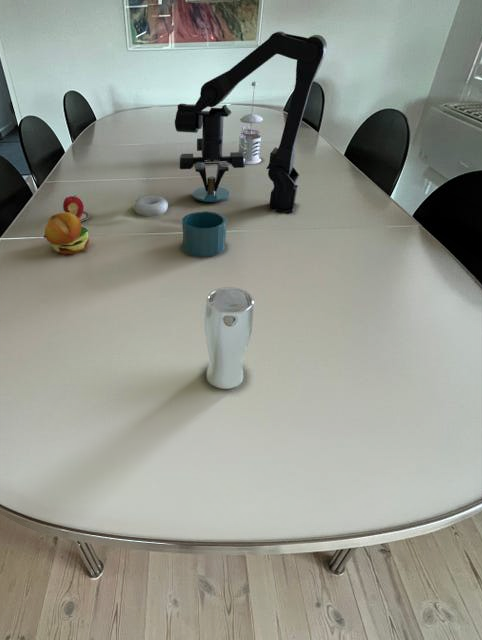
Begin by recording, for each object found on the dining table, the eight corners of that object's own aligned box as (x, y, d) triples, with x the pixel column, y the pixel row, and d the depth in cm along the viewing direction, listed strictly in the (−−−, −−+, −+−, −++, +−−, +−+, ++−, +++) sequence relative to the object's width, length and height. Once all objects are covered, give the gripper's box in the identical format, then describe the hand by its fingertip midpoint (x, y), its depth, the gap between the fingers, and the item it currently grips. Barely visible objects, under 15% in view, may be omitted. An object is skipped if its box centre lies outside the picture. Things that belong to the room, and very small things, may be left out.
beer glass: (200, 363, 69) (202, 287, 59) (241, 360, 70) (249, 284, 60) (206, 393, 64) (209, 315, 54) (250, 389, 64) (260, 311, 54)
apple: (95, 217, 118) (91, 194, 113) (73, 226, 113) (68, 203, 109) (79, 210, 122) (74, 188, 118) (56, 219, 118) (51, 196, 113)
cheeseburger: (99, 239, 106) (89, 206, 98) (81, 267, 101) (69, 234, 93) (65, 234, 109) (52, 201, 101) (46, 261, 103) (31, 229, 95)
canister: (229, 241, 104) (231, 214, 99) (217, 259, 96) (218, 231, 92) (191, 235, 107) (191, 209, 102) (176, 253, 100) (176, 226, 95)
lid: (233, 192, 127) (235, 173, 123) (223, 205, 119) (224, 185, 115) (199, 188, 130) (199, 170, 126) (187, 201, 122) (186, 182, 119)
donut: (130, 218, 117) (164, 219, 115) (128, 206, 115) (163, 207, 113) (139, 205, 124) (171, 205, 122) (138, 193, 122) (170, 194, 120)
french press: (265, 158, 155) (273, 80, 139) (252, 167, 148) (260, 85, 132) (242, 155, 159) (247, 78, 143) (228, 163, 152) (232, 83, 136)
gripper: (243, 125, 119) (239, 181, 129) (179, 127, 119) (180, 182, 130) (247, 135, 110) (242, 193, 121) (179, 137, 111) (180, 195, 121)
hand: (211, 190), depth 123 cm, fingers closed on lid, 2 cm apart
